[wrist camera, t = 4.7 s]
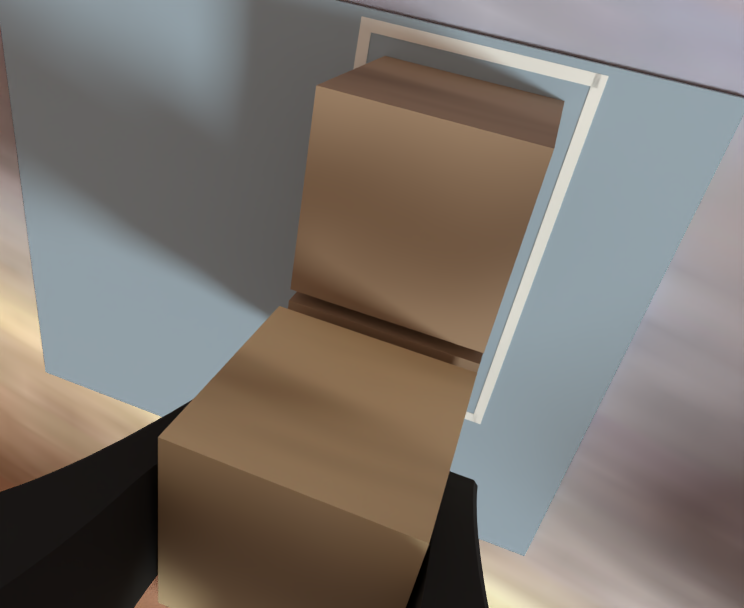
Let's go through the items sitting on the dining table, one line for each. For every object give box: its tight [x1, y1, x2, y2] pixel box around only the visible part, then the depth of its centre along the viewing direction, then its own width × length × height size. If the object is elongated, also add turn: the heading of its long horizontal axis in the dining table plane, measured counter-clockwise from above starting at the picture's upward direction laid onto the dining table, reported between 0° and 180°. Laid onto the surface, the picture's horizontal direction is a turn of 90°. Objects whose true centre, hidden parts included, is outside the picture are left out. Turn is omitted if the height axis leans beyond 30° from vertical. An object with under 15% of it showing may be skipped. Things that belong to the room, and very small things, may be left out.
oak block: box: [158, 306, 477, 608], centre depth 12 cm, size 4×4×4 cm
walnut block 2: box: [288, 292, 483, 373], centre depth 17 cm, size 4×4×4 cm
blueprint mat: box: [0, 0, 744, 556], centre depth 19 cm, size 16×20×1 cm
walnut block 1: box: [290, 56, 565, 353], centre depth 14 cm, size 4×4×4 cm
